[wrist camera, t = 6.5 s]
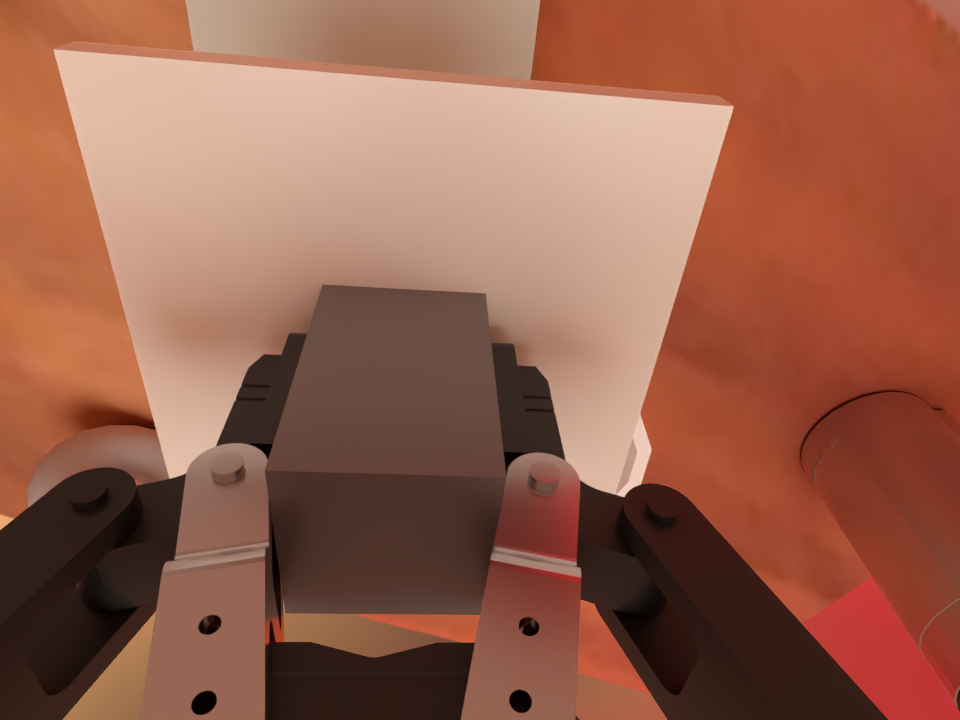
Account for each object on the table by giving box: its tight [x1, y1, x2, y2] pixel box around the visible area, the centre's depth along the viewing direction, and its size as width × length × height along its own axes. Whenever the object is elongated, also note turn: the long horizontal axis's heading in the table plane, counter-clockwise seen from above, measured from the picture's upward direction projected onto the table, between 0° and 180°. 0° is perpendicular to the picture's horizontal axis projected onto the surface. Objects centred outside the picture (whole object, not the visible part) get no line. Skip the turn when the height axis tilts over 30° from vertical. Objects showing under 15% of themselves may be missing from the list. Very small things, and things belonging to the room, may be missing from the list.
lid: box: [53, 41, 734, 615], centre depth 13 cm, size 12×12×6 cm
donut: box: [27, 425, 169, 508], centre depth 38 cm, size 10×4×10 cm, turn 59°
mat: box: [185, 0, 540, 80], centre depth 28 cm, size 15×13×1 cm
